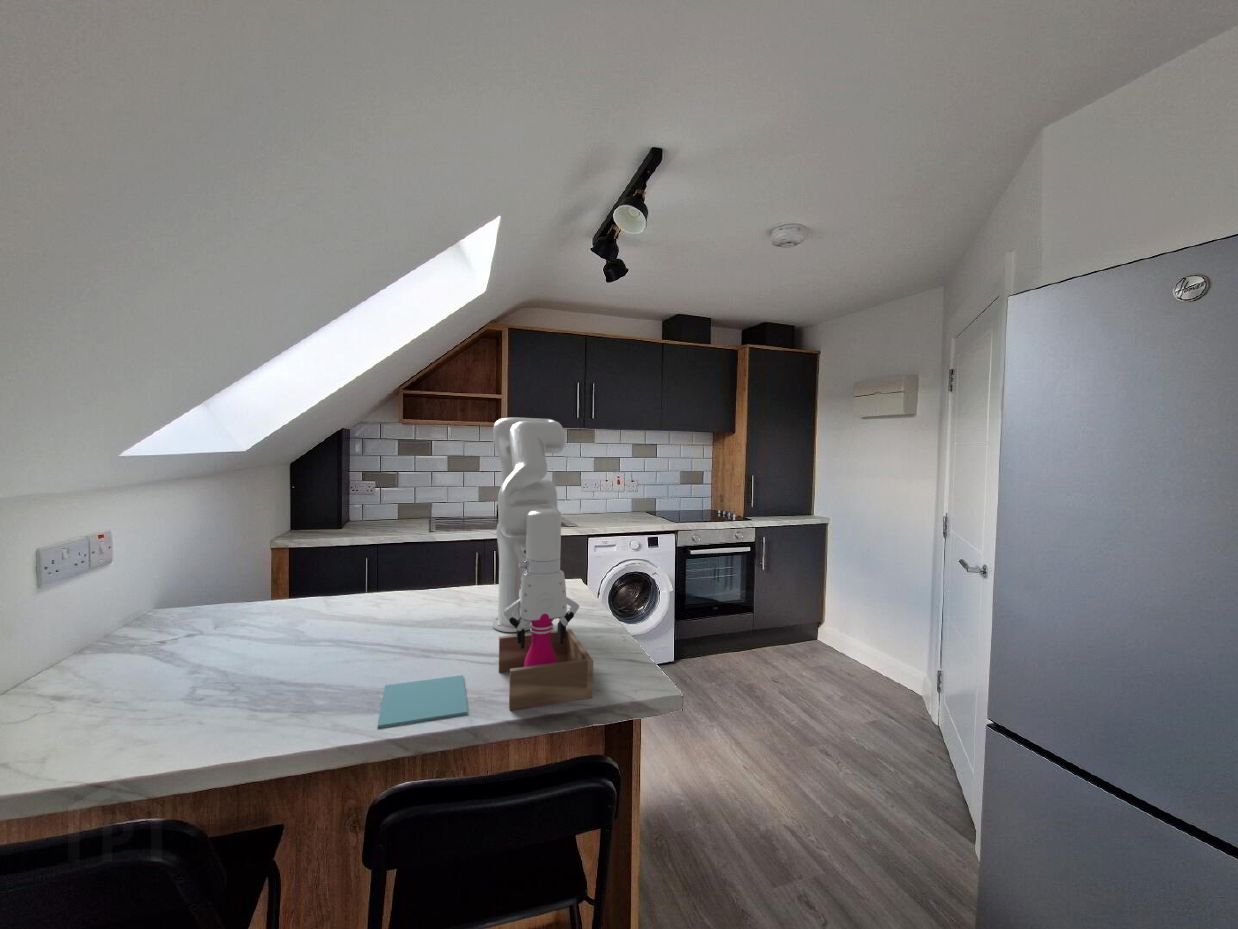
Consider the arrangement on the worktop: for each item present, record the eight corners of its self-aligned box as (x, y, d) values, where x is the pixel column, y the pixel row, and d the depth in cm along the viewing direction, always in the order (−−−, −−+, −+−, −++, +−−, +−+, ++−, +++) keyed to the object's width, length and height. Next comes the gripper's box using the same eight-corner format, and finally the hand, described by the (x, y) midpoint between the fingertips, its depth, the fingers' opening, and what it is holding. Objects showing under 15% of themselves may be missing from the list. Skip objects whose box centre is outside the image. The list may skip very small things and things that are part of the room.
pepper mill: (562, 679, 114) (564, 592, 113) (547, 694, 107) (549, 601, 106) (533, 673, 116) (535, 588, 115) (517, 688, 109) (519, 597, 108)
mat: (385, 687, 108) (385, 685, 108) (463, 677, 114) (463, 675, 114) (377, 728, 93) (377, 725, 93) (467, 714, 99) (467, 711, 99)
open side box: (498, 670, 117) (499, 636, 117) (570, 661, 123) (570, 629, 123) (509, 710, 100) (510, 671, 100) (592, 697, 106) (593, 660, 106)
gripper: (504, 572, 104) (503, 656, 105) (585, 567, 110) (583, 646, 111) (500, 564, 111) (499, 642, 112) (576, 559, 117) (574, 633, 118)
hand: (541, 643), depth 111 cm, fingers open, 8 cm apart
